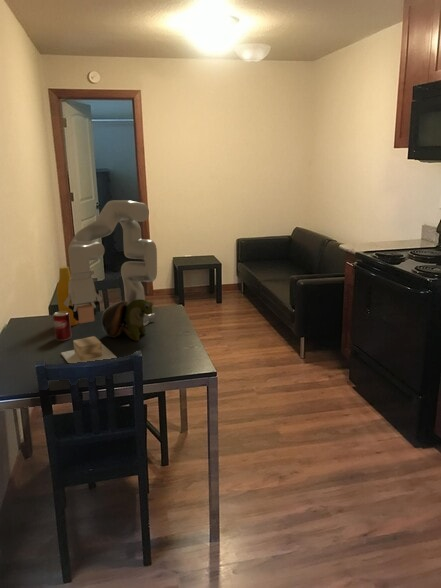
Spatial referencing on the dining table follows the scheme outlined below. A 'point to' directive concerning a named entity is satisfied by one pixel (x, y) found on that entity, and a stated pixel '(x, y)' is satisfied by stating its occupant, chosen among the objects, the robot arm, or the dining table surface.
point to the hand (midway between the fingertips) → (84, 318)
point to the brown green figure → (126, 318)
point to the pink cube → (85, 313)
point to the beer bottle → (64, 293)
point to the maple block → (87, 348)
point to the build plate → (72, 358)
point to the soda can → (62, 325)
